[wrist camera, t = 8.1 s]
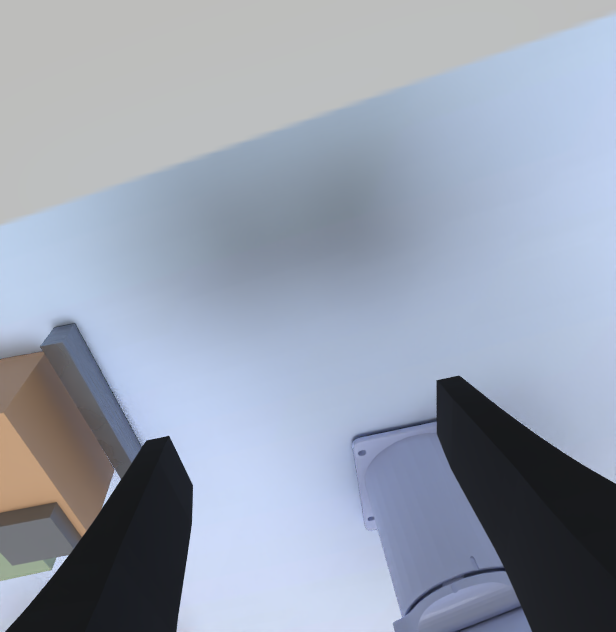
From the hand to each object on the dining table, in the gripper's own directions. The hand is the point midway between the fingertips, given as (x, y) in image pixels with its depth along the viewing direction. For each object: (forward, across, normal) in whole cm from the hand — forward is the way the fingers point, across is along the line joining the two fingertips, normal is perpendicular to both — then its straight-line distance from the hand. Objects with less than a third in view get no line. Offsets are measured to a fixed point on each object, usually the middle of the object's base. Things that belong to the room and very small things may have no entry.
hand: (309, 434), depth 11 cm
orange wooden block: (+11, +14, +6) cm, 19 cm away
